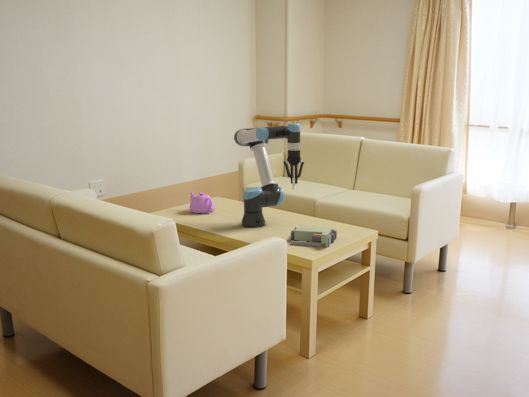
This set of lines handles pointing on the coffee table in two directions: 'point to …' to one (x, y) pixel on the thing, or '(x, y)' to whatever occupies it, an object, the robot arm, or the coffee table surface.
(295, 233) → the green wheeled box
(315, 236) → the orange striped grey block
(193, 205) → the teapot
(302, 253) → the coffee table surface
